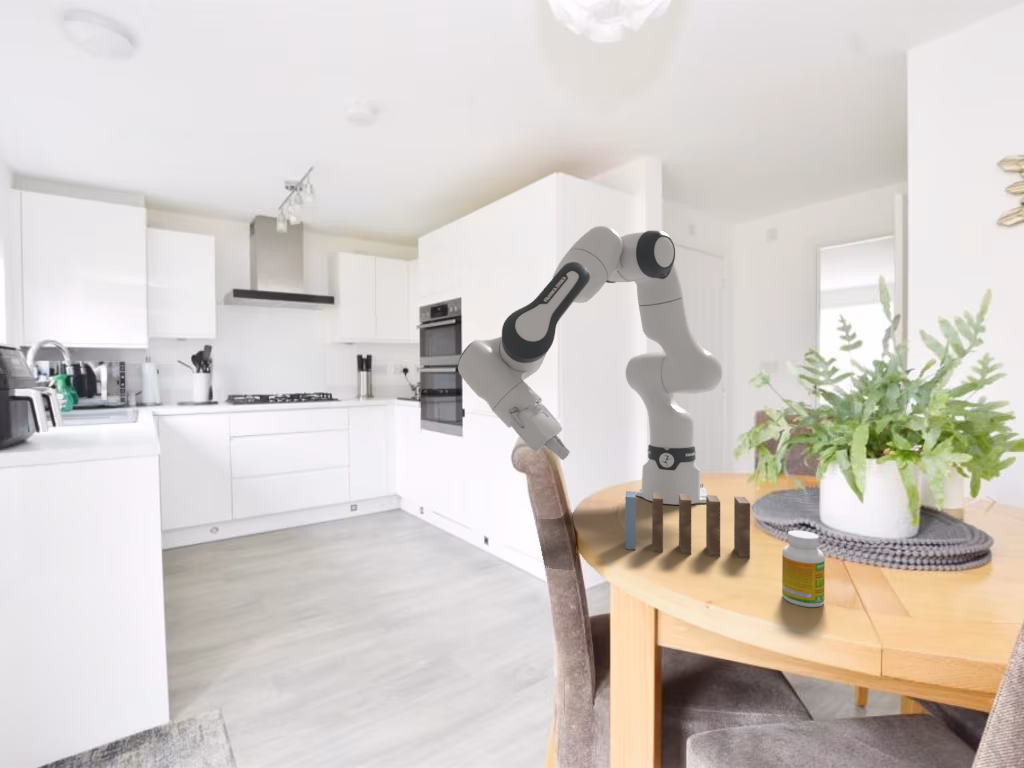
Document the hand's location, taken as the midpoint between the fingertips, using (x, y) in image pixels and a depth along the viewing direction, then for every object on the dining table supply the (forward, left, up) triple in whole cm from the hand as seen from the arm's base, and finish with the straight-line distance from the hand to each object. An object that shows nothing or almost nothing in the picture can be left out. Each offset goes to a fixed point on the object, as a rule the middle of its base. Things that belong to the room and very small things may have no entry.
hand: (566, 456), depth 103 cm
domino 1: (-3, +12, -17) cm, 21 cm away
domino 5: (-8, +31, -17) cm, 36 cm away
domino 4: (-7, +26, -17) cm, 32 cm away
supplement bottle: (+9, +41, -17) cm, 45 cm away
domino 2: (-5, +17, -17) cm, 24 cm away
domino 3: (-6, +22, -17) cm, 28 cm away
